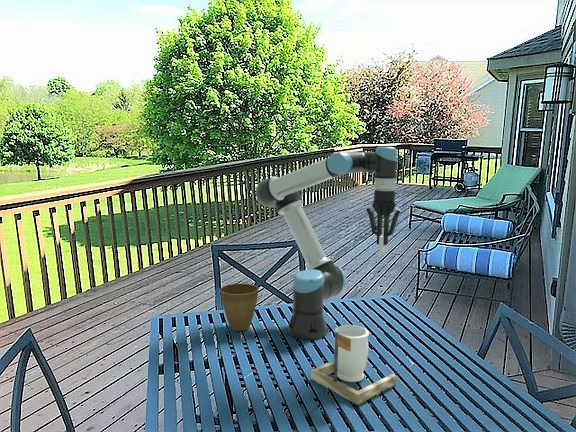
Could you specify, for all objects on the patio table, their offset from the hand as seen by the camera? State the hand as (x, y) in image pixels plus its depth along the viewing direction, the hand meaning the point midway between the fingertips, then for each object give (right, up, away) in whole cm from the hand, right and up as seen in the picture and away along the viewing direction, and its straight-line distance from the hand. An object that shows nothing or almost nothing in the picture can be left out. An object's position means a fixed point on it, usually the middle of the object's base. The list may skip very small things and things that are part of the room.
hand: (381, 253), depth 174 cm
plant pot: (-54, -30, +12) cm, 63 cm away
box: (-14, -37, -29) cm, 49 cm away
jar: (-15, -37, -26) cm, 48 cm away
